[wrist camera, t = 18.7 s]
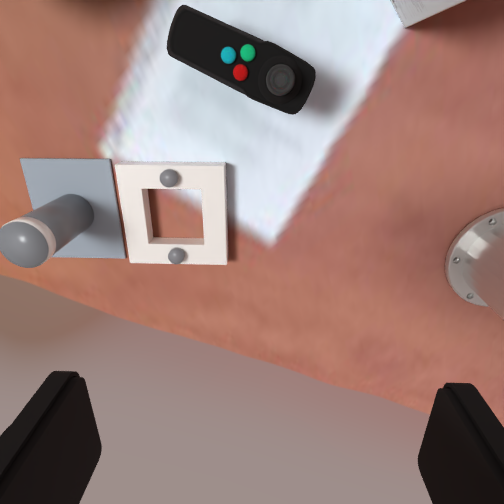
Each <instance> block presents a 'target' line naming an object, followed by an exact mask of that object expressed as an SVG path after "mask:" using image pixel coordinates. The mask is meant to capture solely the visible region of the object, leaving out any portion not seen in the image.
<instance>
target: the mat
mask: <svg viewBox="0 0 504 504" xmlns="http://www.w3.org/2000/svg"><path fill="white" fill-rule="evenodd" d="M20 162H21V165H22V169H23V173H24V177H25V180H26V184H27V188H28V192H29V196H30V199H31V203H32V207H33V210H35V209H37V208H39V207H41V206H43V205H45V204H47V203H49V202H51V201H53V200H55V199H57V198H59V197H61V196H63V195H65V194H76V195H79V196H81V197H83V198H84V199H86V200H87V201H88V202H89V204H90V205H91V207H92V209H93V212H94V220H93V223H92V224H91V226H90V227H89V228H87V229H86V230H85V231H83V232H82V233H81V234H79V235H78V236H77V237H76V238H74V239H73V240H72V241H70V242H69V243H68V244H67V245H65V246H64V247H63V248H61V249H60V250H59V251H57V252H56V253H55V254H54V255H53V256H52V257H78V258H126V254H125V248H124V241H123V235H122V229H121V223H120V216H119V210H118V204H117V198H116V192H115V185H114V179H113V173H112V167H111V161H110V159H65V158H20Z"/></svg>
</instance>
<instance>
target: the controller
mask: <svg viewBox="0 0 504 504" xmlns="http://www.w3.org/2000/svg"><path fill="white" fill-rule="evenodd" d="M167 51H168V54H169V55H170V56H171V57H173V58H175V59H177V60H179V61H181V62H183V63H185V64H187V65H189V66H190V67H192V68H194V69H196V70H198V71H200V72H202V73H204V74H206V75H208V76H210V77H212V78H214V79H216V80H218V81H219V82H221V83H223V84H225V85H227V86H229V87H231V88H233V89H235V90H237V91H239V92H241V93H243V94H245V95H246V96H247V97H249V98H251V99H253V100H255V101H258V102H260V103H263V104H265V105H267V106H270V107H272V108H275V109H277V110H280V111H282V112H285V113H288V114H296V113H298V112H299V111H300V110H301V109H302V107H303V106H304V104H305V103H306V101H307V98H308V96H309V94H310V92H311V90H312V87H313V85H314V81H315V69H314V67H312V66H311V65H310V64H308V63H307V62H306V61H304V60H302V59H301V58H299V57H297V56H295V55H294V54H292V53H290V52H288V51H287V50H285V49H283V48H281V47H280V46H278V45H276V44H274V43H272V42H269V41H263V40H261V39H259V38H257V37H255V36H253V35H250V34H248V33H246V32H244V31H242V30H239V29H237V28H235V27H233V26H231V25H228V24H226V23H224V22H222V21H220V20H217V19H215V18H213V17H211V16H209V15H206V14H204V13H202V12H200V11H198V10H195V9H193V8H191V7H189V6H187V5H182V6H180V7H179V8H178V9H177V11H176V13H175V16H174V18H173V21H172V24H171V27H170V30H169V35H168V40H167Z"/></svg>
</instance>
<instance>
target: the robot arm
mask: <svg viewBox="0 0 504 504" xmlns="http://www.w3.org/2000/svg"><path fill="white" fill-rule="evenodd" d="M445 273H446V278H447V280H448V283H449V285H450V286H451V287H452V289H453V290H454V291H455V292H456V293H457V294H458V295H459V296H460V297H461V298H462V299H464V300H465V301H467V302H470V303H472V304H475V305H480V306H487V307H490V308H491V309H492V310H493V311H494V312H495V313H496V314H497V315H498V316H499V317H500V318H502V319H503V320H504V208H500V209H497V210H494V211H491V212H488V213H486V214H484V215H482V216H480V217H478V218H477V219H475V220H474V221H472V222H471V223H470V224H468V225H467V226H466V227H465V228H464V229H463V230H462V231H461V232H460V233H459V234H458V235H457V237H456V238H455V239H454V241H453V242H452V244H451V246H450V248H449V250H448V253H447V257H446V261H445ZM100 455H101V441H100V437H99V433H98V429H97V425H96V421H95V417H94V413H93V410H92V406H91V402H90V398H89V394H88V390H87V386H86V382H85V379H84V378H82V377H80V376H79V374H78V373H77V372H72V371H53V372H52V373H51V374H50V375H49V376H48V377H47V378H46V380H45V381H44V382H43V384H42V385H41V386H40V388H39V389H38V390H37V391H36V393H35V394H34V395H33V397H32V398H31V399H30V401H29V402H28V403H27V405H26V406H25V407H24V408H23V410H22V411H21V413H20V414H19V415H18V416H17V418H16V419H15V420H14V422H13V423H12V424H11V425H10V426H9V427H8V428H7V429H6V430H5V431H4V432H3V433H2V435H1V436H0V504H79V503H80V500H81V498H82V496H83V494H84V491H85V489H86V487H87V485H88V483H89V481H90V478H91V476H92V474H93V472H94V470H95V467H96V465H97V463H98V461H99V458H100ZM418 466H419V470H420V473H421V476H422V478H423V481H424V483H425V485H426V488H427V491H428V493H429V496H430V498H431V500H432V503H433V504H504V427H503V426H502V424H501V423H500V422H499V420H498V419H497V417H496V416H495V414H494V413H493V412H492V410H491V409H490V407H489V406H488V404H487V403H486V402H485V400H484V399H483V397H482V396H481V394H480V393H479V392H478V390H477V389H476V388H475V386H474V385H472V384H470V383H446V384H445V385H444V387H443V388H439V389H438V391H437V394H436V397H435V401H434V404H433V407H432V411H431V414H430V417H429V421H428V424H427V428H426V431H425V434H424V438H423V441H422V445H421V448H420V452H419V455H418Z"/></svg>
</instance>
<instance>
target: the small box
mask: <svg viewBox="0 0 504 504" xmlns="http://www.w3.org/2000/svg"><path fill="white" fill-rule="evenodd" d="M390 1H391V3H392V4H393V6H394V8H395V10H396V12H397V14H398V16H399V18H400V20H401V22H402V24H403V26H404V28H407V27H409V26H411V25H413V24H416V23H418V22H420V21H422V20H424V19H426V18H429V17H431V16H433V15H436V14H438V13H440V12H442V11H444V10H447V9H449V8H451V7H453V6H456V5H458V4H460V3H462V2H465V1H467V0H390Z"/></svg>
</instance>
